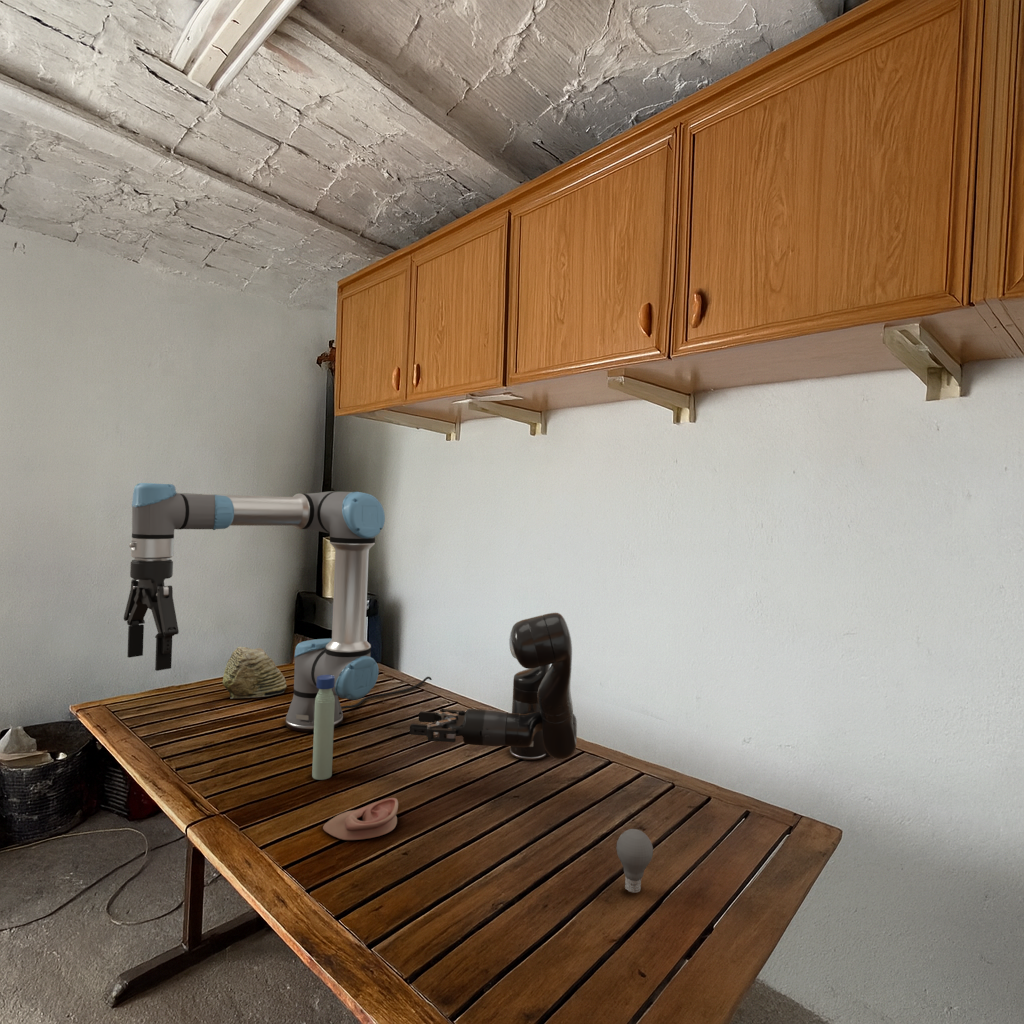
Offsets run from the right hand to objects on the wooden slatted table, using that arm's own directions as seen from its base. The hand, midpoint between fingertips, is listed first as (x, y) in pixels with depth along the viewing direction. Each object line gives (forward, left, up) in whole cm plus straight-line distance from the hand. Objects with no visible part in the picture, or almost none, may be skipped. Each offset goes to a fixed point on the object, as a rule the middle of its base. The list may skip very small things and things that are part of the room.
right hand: (414, 722), depth 142 cm
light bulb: (-27, +49, -14) cm, 58 cm away
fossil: (+35, -73, -14) cm, 82 cm away
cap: (+19, -9, +9) cm, 22 cm away
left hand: (+54, -7, +14) cm, 56 cm away
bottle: (+19, -9, -14) cm, 25 cm away
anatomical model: (+13, +16, -14) cm, 25 cm away
